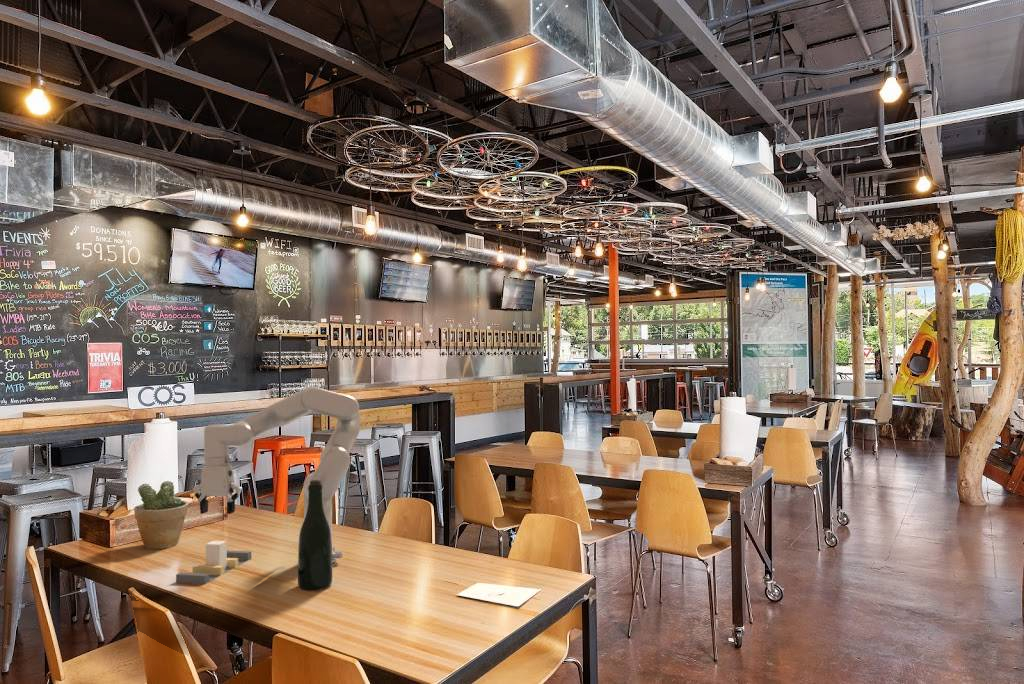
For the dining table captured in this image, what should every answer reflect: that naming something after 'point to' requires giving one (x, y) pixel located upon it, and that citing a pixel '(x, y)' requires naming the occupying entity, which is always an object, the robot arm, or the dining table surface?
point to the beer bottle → (315, 544)
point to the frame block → (216, 553)
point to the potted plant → (160, 516)
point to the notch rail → (211, 577)
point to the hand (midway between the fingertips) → (217, 512)
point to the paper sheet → (499, 593)
